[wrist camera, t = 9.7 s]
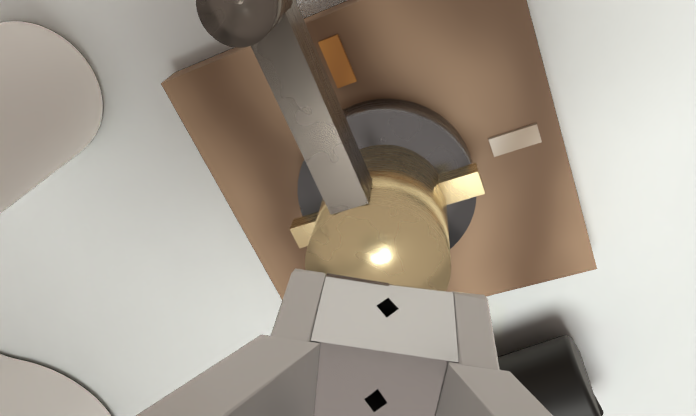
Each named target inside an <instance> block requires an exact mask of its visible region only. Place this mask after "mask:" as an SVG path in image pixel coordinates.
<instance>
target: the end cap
mask: <svg viewBox="0 0 696 416" xmlns="http://www.w3.org/2000/svg"><path fill="white" fill-rule="evenodd" d="M498 363H499V369H500V370H504V371H510V372H511V373H512V374H513V375H514V376H515V377H516V378H517V379H518V380H519V381H520V382H521V384H522V385H523V386H524V387H525V388H526V389H527V390H528V391H529V392H530V393H531V394H532V395H533V396H534V397H535V398H536V399H537V400H538V401H539V402H540V403H541V404H542V405H543V406H544V407H545V408H546V409H547V410H548V411H549V412H550V413H551V414H552V415H553V416H602V415H603V410H602V408H601V406H600V404H599V403H598V401H597V399H596V397H595V395H594V393H593V390H592V387H591V384H590V381H589V378H588V375H587V372H586V369H585V366H584V363H583V360H582V357H581V354H580V351H579V350H578V348H577V346H576V344H575V343H574V341H573V340H572V338H571V337H569V336H567V335H564V336H561V337H558V338H555V339H552V340H549V341H546V342H543V343H540V344H537V345H534V346H531V347H528V348H525V349H522V350H519V351H516V352H513V353H510V354H507V355H504V356H501V357H498Z"/></svg>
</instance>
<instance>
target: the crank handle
mask: <svg viewBox="0 0 696 416" xmlns="http://www.w3.org/2000/svg"><path fill="white" fill-rule="evenodd" d="M196 7H197V12H198V15H199V18H200V21H201V23H202V24H203V26H204V28H205V29H206V30H207V32H208V33H209V34H210V35H211V36H212V37H213V38H215V39H216V40H217V41H219V42H221V43H223V44H225V45H228V46H231V47H238V48H242V47H249V46H251V48H252V50H253V52H254V54H255V57H256V59H257V61H258V63H259V65H260V67H261V69H262V71H263V73H264V75H265V78H266V80H267V82H268V84H269V86H270V88H271V90H272V92H273V94H274V97H275V99H276V101H277V103H278V105H279V107H280V109H281V111H282V113H283V115H284V118H285V120H286V122H287V124H288V126H289V128H290V130H291V132H292V134H293V136H294V139H295V141H296V143H297V145H298V147H299V149H300V151H301V153H302V155H303V158H304V160H305V162H306V164H307V166H308V168H309V170H310V172H311V174H312V176H313V179H314V181H315V183H316V185H317V187H318V189H319V191H320V193H321V195H322V197H323V199H322V202H321V206H320V209H319V211H318V212H315V213H312V214H308V215H305V216H302V217H299V218H296V219H293V222H292V224H291V227H290V231H291V233H292V235H293V237H294V239H295V240H296V242H297V244H298V246H299V248H303V247H306V246H308V247H307V251H306V256H305V269H306V270H309V271H316V272H323V273H325V274H326V275H327V273H330V274H336V275H342V276H348V277H354V278H360V279H366V280H372V281H378V282H385V283H389V284H394V285H401V286H409V287H416V288H424V289H431V290H439V291H446V290H447V288H448V285H449V282H450V277H451V258H450V244H449V231H448V217H447V205H449V204H452V203H455V202H459V201H462V200H466V199H469V198H472V197H476V196H479V195H483V194H485V190H484V185H483V181H482V178H481V175H480V172H479V169H478V166H477V163H473V164H469V165H466V166H463V167H460V168H456V169H453V170H450V171H447V172H444V173H440V174H438V172H437V170H436V169H435V168H434V167H433V165H432V164H431V163H430V162H429V161H427V160H426V159H425V158H424V157H422V156H421V155H419V154H418V153H416V152H414V151H412V150H409V149H406V148H404V147H400V146H395V145H374V146H369V147H365V148H362V149H359V148H358V145H357V143H356V141H355V138H354V136H353V134H352V131H351V129H350V127H349V124H348V122H347V120H346V117H345V115H344V113H343V110H342V108H341V106H340V103H339V101H338V99H337V96H336V94H335V91H334V89H333V87H332V84H331V82H330V80H329V77H328V75H327V73H326V70H325V68H324V66H323V63H322V61H321V59H320V56H319V54H318V52H317V49H316V47H315V45H314V42H313V40H312V38H311V35H310V33H309V31H308V28H307V26H306V24H305V21H304V19H303V17H302V14H301V12H300V10H299V7H298V5H297V2H296V0H196Z"/></svg>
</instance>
